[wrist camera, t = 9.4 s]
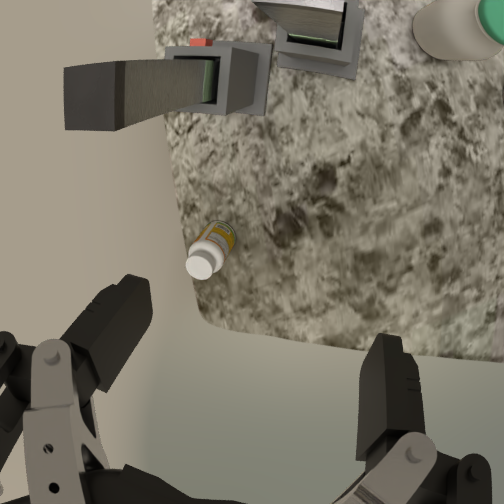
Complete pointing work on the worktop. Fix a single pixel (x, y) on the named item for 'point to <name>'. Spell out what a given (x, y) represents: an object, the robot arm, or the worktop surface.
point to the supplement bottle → (210, 250)
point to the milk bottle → (461, 29)
